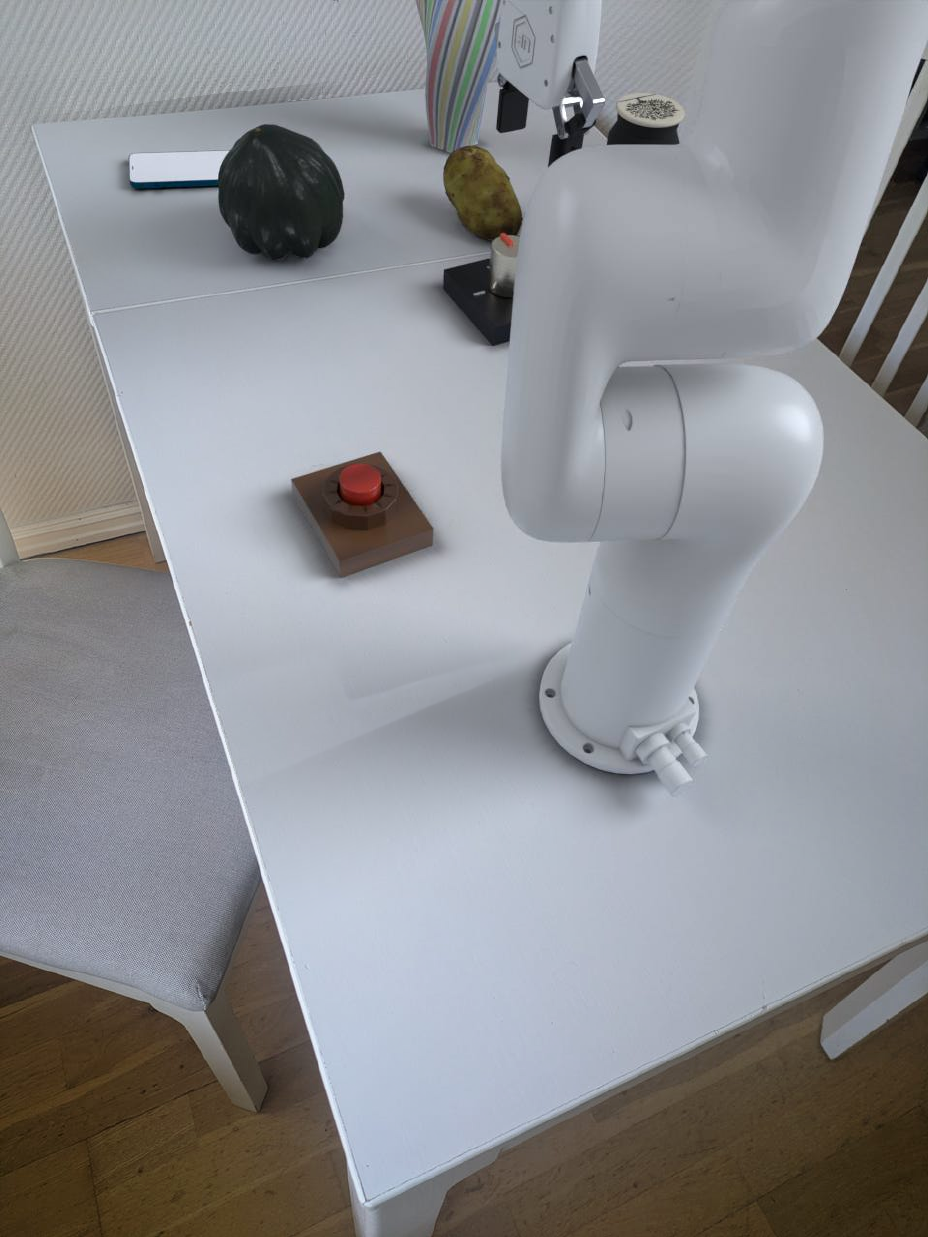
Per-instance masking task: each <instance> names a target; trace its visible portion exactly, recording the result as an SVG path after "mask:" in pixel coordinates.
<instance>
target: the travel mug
mask: <svg viewBox="0 0 928 1237" xmlns="http://www.w3.org/2000/svg"><path fill="white" fill-rule="evenodd" d="M615 111H616V113H617V114H616V115H617V116H616V121H615V123H614V124H613V125H612V126H611V128H610V130H609V131H608V134H607V135H608V136H607V139H606V144H605V145H677V144H680V143H681V142H680V137H679V134H678V128H679V126H680V123H681V122H682V121H683V120H684V118H685V109H684V107H683V106H682V105H681V104H680V103H678V102H677V101H676V100H673V99H672V98H670V97H667V96H664V95H661V94H656V93H652V92H651V93H650V92H634V93H629V94H625V95H623V96H621V97H620V98H619V99H618V100H617V101H616V103H615Z"/></svg>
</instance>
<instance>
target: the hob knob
mask: <svg viewBox="0 0 928 1237" xmlns="http://www.w3.org/2000/svg"><path fill="white" fill-rule="evenodd" d="M519 240H520V235H519V236H518V235H517V236H514V235H506V234H505V233H502V234H500V237H497V238H496V239H494V240H492V241H491V246H490V247H491V248H490V257H489V258H490V267H489V277H488V288H489V290H490V291H491V292H492V293H494V294H495V295H498V296H501V297H506V298H513V296H514V284H515V272H516V264H517V256H518V248H519Z"/></svg>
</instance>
